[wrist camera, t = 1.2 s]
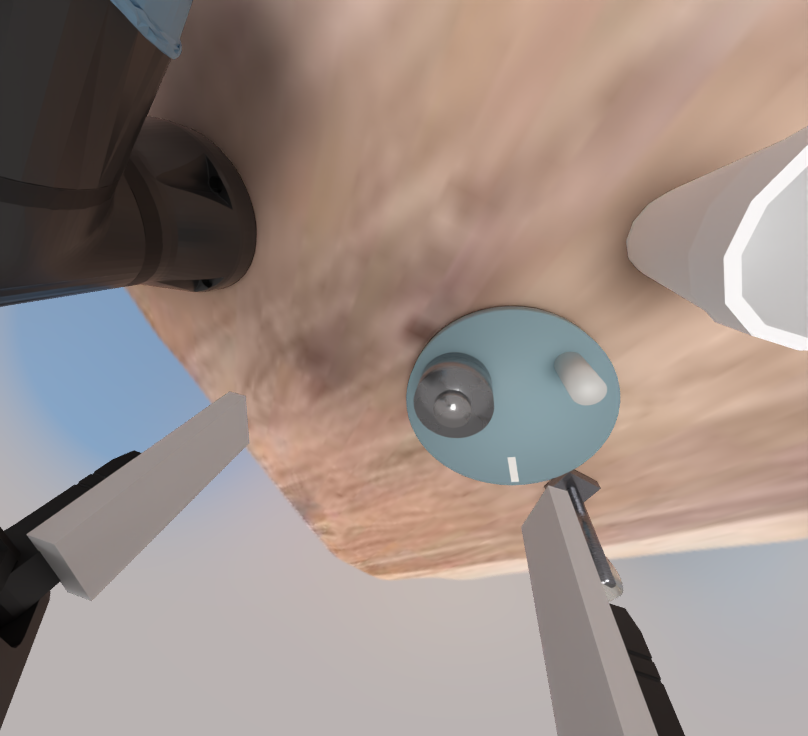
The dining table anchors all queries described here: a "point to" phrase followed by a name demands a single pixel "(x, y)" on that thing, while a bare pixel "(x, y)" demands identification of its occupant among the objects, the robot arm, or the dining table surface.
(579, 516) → the dial stand
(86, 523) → the robot arm
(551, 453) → the turntable
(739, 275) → the foam cup
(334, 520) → the dining table surface
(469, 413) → the cover
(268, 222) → the dining table surface
